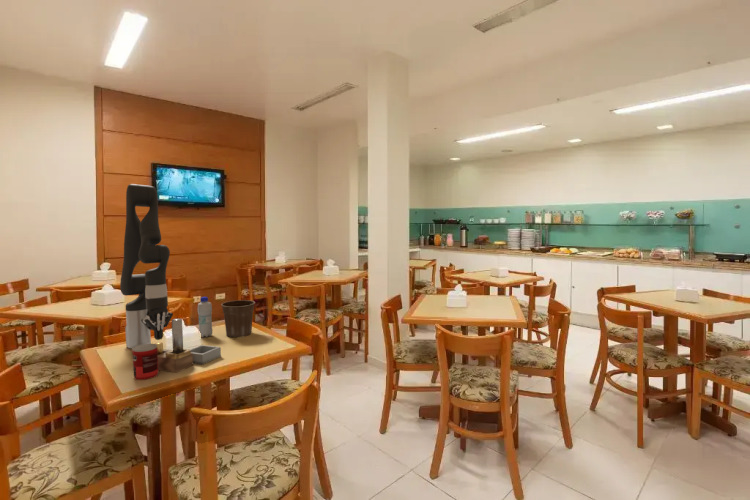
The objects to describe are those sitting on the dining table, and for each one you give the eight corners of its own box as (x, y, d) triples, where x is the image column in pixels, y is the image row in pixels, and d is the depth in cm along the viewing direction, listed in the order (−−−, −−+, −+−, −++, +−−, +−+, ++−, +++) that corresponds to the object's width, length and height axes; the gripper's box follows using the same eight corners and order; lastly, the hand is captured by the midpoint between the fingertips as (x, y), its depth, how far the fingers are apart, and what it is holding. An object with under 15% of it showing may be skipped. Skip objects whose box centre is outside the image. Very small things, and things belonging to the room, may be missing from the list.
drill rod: (170, 356, 148) (169, 320, 147) (178, 353, 152) (177, 318, 151) (178, 357, 147) (176, 321, 146) (185, 354, 150) (184, 319, 150)
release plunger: (153, 357, 152) (152, 344, 152) (159, 355, 155) (159, 342, 154) (158, 358, 151) (158, 344, 151) (165, 356, 154) (164, 342, 153)
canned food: (140, 372, 145) (138, 343, 145) (162, 371, 146) (161, 343, 145) (129, 380, 138) (127, 350, 137) (152, 379, 138) (151, 349, 138)
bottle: (207, 338, 189) (206, 298, 188) (195, 337, 190) (193, 297, 189) (215, 334, 196) (214, 295, 194) (204, 334, 197) (202, 295, 196)
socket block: (145, 367, 150) (144, 351, 150) (162, 360, 158) (161, 345, 157) (177, 372, 145) (176, 355, 144) (193, 365, 152) (193, 349, 152)
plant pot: (262, 333, 196) (261, 302, 196) (232, 341, 184) (231, 307, 183) (245, 328, 207) (244, 298, 206) (216, 335, 195) (215, 303, 194)
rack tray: (183, 361, 157) (183, 352, 156) (202, 353, 166) (201, 344, 166) (202, 364, 153) (202, 354, 153) (220, 356, 163) (220, 347, 162)
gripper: (163, 292, 159) (165, 334, 160) (134, 298, 146) (136, 343, 147) (177, 293, 156) (179, 335, 157) (148, 299, 144) (151, 344, 145)
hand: (158, 339), depth 152 cm, fingers closed
